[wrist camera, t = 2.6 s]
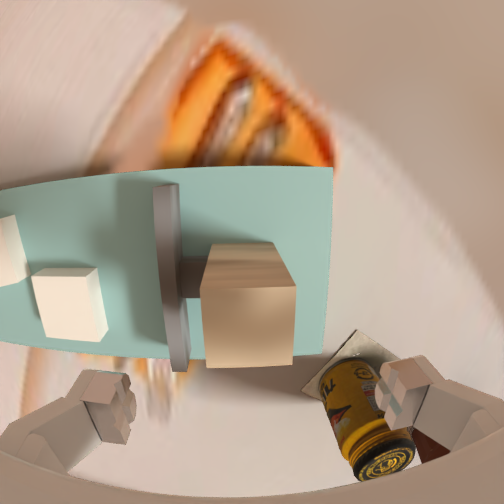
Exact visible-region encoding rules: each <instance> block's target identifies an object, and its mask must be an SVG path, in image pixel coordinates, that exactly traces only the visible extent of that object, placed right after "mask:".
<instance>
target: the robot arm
mask: <svg viewBox="0 0 504 504" xmlns="http://www.w3.org/2000/svg"><path fill="white" fill-rule="evenodd" d="M379 373H380V375H381V376H382V378H381V379H380V380H379V381H378V382H377V384H376V388H375V400H376V403H377V405H378V407H379V409H381V410H383V411H385V412H386V413H385V416H384V418H385V420H386V422H387V424H388V426H389V427H390V429H391V431H392V430H396V429H400V428H404V427H408V426H412V425H413V427H415V428H416V429H418V430H419V431H421V432H422V433H424V434H425V435H427V436H428V437H430V438H431V439H433V440H435V441H436V442H438V443H439V444H441V445H442V446H444V447H446V448H447V449H449V450H450V453H449V454H447V455H444V456H442V457H439V458H437V459H434V460H431V461H429V462H426V463H423V464H420V465H418V466H415V467H412V468H409V469H406V470H403V471H399V472H396V473H393V474H389V475H386V476H382V477H379V478H375V479H371V480H367V481H363V482H358V483H354V484H349V485H345V486H340V487H334V488H329V489H323V490H317V491H310V492H303V493H295V494H286V495H275V496H261V497H231V498H222V497H192V496H178V495H167V494H158V493H150V492H143V491H137V490H130V489H125V488H119V487H114V486H109V485H104V484H100V483H95V482H91V481H87V480H83V479H79V478H76V477H72V476H70V475H69V474H68V471H69V470H70V469H72V468H73V467H74V466H75V465H76V464H78V463H79V462H80V461H81V460H82V459H84V458H85V457H86V456H87V455H88V454H90V453H91V452H92V451H93V450H94V449H95V448H97V447H98V446H99V445H100V444H101V443H102V442H109V443H116V444H124V445H126V443H127V440H128V437H129V434H130V431H131V429H130V427H129V424H130V423H131V422H133V421H134V419H135V416H136V407H137V405H136V399H135V395H134V393H133V392H132V391H131V390H130V389H129V387H130V385H131V382H130V378H129V375H127V374H126V373H118V372H109V371H102V370H93V369H84V370H83V371H82V372H81V374H80V375H79V377H78V378H77V380H76V381H75V383H74V385H73V386H72V388H71V389H70V391H69V393H68V394H67V396H66V397H65V398H63V397H61V398H59V399H57V400H55V401H53V402H51V403H49V404H48V405H46V406H44V407H42V408H40V409H38V410H36V411H34V412H32V413H30V414H28V415H26V416H24V417H22V418H20V419H18V420H16V421H14V422H12V423H10V424H9V425H8V426H7V428H6V429H5V431H4V432H3V434H2V435H1V437H0V504H504V401H503V400H502V399H500V398H497V397H494V396H491V395H489V394H486V393H483V392H481V391H478V390H475V389H473V388H470V387H467V386H465V385H462V384H460V383H457V382H454V381H452V380H445V379H444V378H443V377H442V376H441V374H440V373H439V372H438V371H437V370H436V369H435V368H434V366H433V365H432V364H431V363H430V362H429V361H428V360H427V359H426V357H425V356H422V355H419V356H414V357H410V358H407V359H402V360H397V361H391V362H386V363H383V364H382V366H381V369H380V372H379Z"/></svg>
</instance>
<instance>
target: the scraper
mask: <svg viewBox="0 0 504 504" xmlns="http://www.w3.org/2000/svg"><path fill="white" fill-rule="evenodd" d="M152 188H153V209H154V225H155V238H156V251H157V262H158V272H159V281H160V290H161V299H162V307H163V314H164V322H165V329H166V336H167V342H168V349H169V355H170V361H171V367H172V372H187V369H188V364H189V359H190V354H191V349H192V348H191V339H190V330H189V321H188V311H187V301H186V298H200V301H201V313H202V325H203V336H204V347H205V357H206V367H207V368H239V367H264V366H281V365H292V361H293V345H294V329H295V310H296V288H297V286H296V284H295V282H294V281H293V279H292V277H291V275H290V273H289V271H288V269H287V267H286V266H285V264H284V262H283V260H282V258H281V256H280V254H279V253H278V251H277V249H276V247H275V245H274V243H273V242H268V243H225V244H212V246H211V249H210V253H209V256H183V251H182V235H181V216H180V192H179V184H166V185H160V186H156V187H152Z"/></svg>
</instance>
